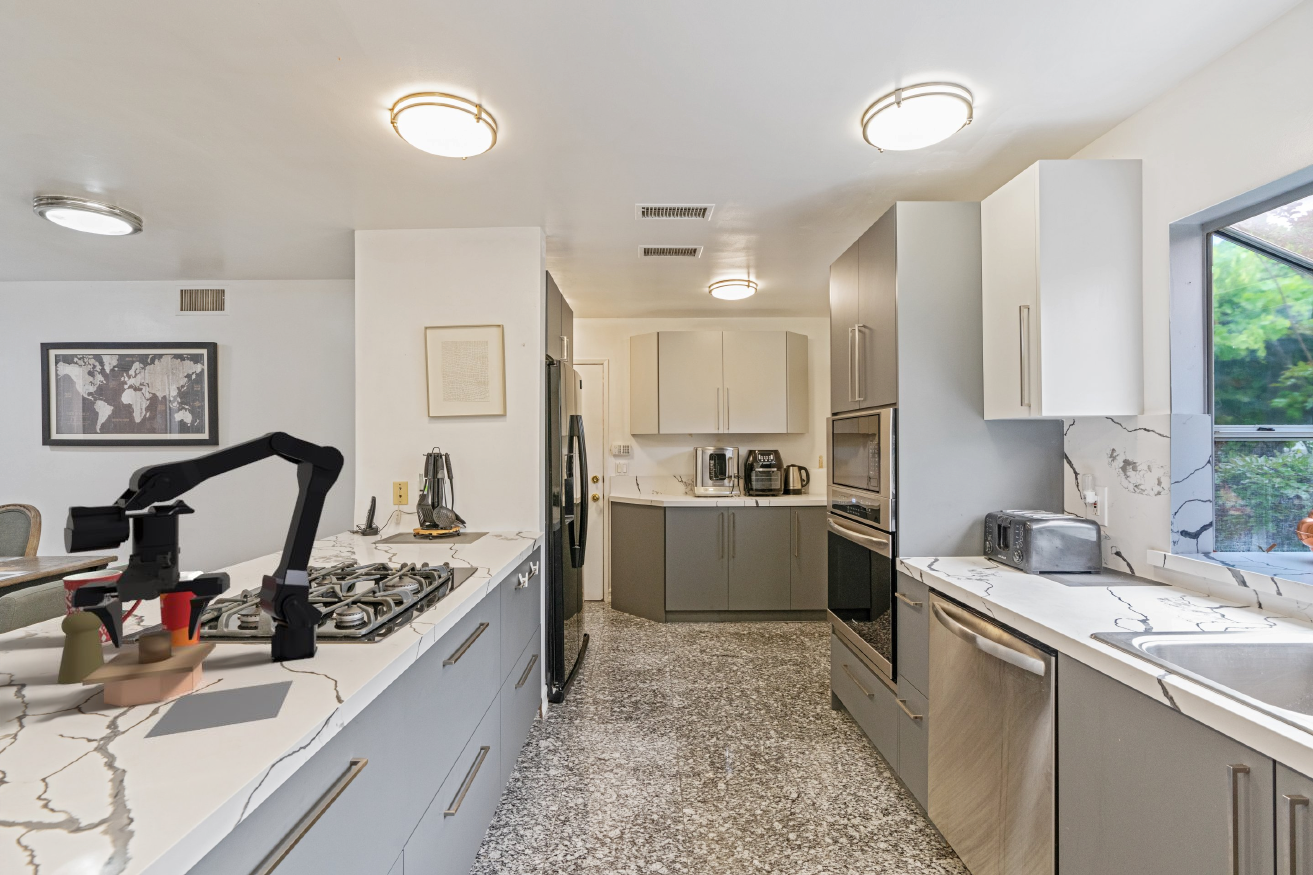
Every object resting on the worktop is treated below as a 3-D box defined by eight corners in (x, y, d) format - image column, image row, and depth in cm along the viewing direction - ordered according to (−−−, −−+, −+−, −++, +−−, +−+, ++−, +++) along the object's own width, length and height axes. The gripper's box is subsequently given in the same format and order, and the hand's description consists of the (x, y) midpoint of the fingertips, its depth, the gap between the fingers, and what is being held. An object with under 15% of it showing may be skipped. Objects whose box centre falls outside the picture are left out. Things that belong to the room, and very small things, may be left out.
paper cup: (174, 639, 123) (175, 570, 124) (214, 638, 124) (214, 569, 124) (145, 652, 116) (146, 578, 116) (188, 650, 116) (188, 577, 116)
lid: (215, 646, 104) (215, 618, 104) (192, 671, 92) (192, 639, 92) (120, 657, 99) (120, 628, 99) (82, 685, 87) (82, 652, 87)
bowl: (207, 675, 103) (207, 649, 103) (186, 699, 93) (186, 670, 93) (124, 686, 98) (125, 658, 99) (93, 713, 88) (93, 682, 88)
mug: (58, 651, 117) (59, 581, 117) (64, 640, 124) (65, 574, 124) (144, 637, 125) (144, 572, 125) (145, 628, 132) (145, 566, 132)
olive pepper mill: (76, 685, 99) (76, 617, 100) (47, 682, 101) (48, 616, 101) (115, 671, 105) (116, 608, 106) (88, 669, 106) (88, 607, 107)
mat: (293, 682, 99) (293, 680, 99) (276, 719, 85) (276, 716, 85) (180, 698, 93) (180, 696, 93) (143, 740, 80) (143, 737, 80)
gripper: (52, 557, 85) (51, 669, 85) (212, 547, 92) (212, 650, 92) (89, 546, 95) (88, 645, 95) (231, 537, 103) (230, 630, 102)
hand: (155, 643), depth 96 cm, fingers open, 9 cm apart
